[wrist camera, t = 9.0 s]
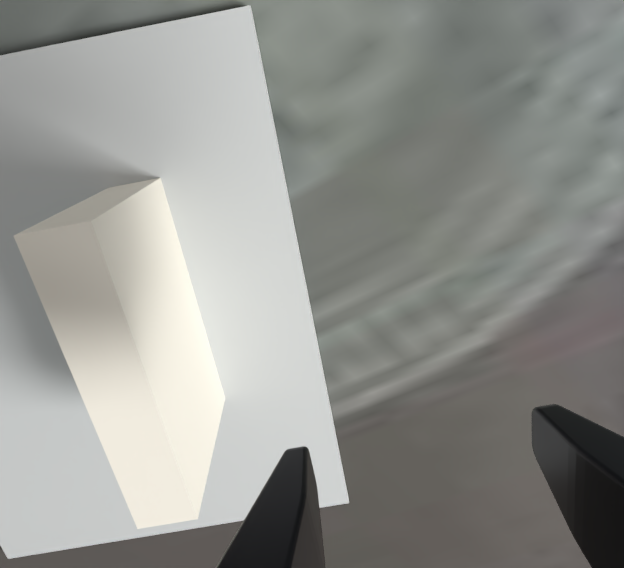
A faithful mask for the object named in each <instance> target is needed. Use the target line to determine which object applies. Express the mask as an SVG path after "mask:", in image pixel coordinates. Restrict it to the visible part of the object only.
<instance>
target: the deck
mask: <svg viewBox="0 0 624 568" xmlns="http://www.w3.org/2000/svg"><path fill="white" fill-rule="evenodd" d="M14 238H15V241H16V243H17V246H18V248H19V250H20V253H21V255H22V257H23V260H24V262H25V264H26V267H27V269H28V272H29V274H30V276H31V279H32V281H33V283H34V286H35V288H36V290H37V293H38V295H39V298H40V300H41V302H42V305H43V307H44V309H45V312H46V314H47V316H48V319H49V321H50V324H51V326H52V328H53V331H54V333H55V335H56V338H57V340H58V342H59V345H60V347H61V350H62V352H63V354H64V357H65V359H66V361H67V364H68V366H69V368H70V371H71V373H72V376H73V378H74V380H75V383H76V385H77V387H78V390H79V392H80V394H81V397H82V399H83V401H84V404H85V406H86V409H87V411H88V413H89V416H90V418H91V420H92V423H93V425H94V427H95V430H96V432H97V435H98V437H99V439H100V442H101V444H102V446H103V449H104V451H105V453H106V456H107V458H108V461H109V463H110V465H111V468H112V470H113V472H114V475H115V477H116V479H117V482H118V484H119V487H120V489H121V491H122V494H123V496H124V498H125V501H126V503H127V505H128V508H129V510H130V513H131V515H132V517H133V520H134V522H135V524H136V527H137V529H141V528H147V527H154V526H160V525H166V524H172V523H178V522H184V521H190V520H196V519H198V516H199V512H200V507H201V503H202V498H203V494H204V490H205V485H206V481H207V476H208V472H209V468H210V463H211V459H212V454H213V450H214V446H215V441H216V437H217V432H218V428H219V424H220V419H221V415H222V411H223V406H224V402H225V396H224V392H223V389H222V386H221V382H220V379H219V375H218V372H217V369H216V365H215V362H214V358H213V355H212V352H211V348H210V345H209V341H208V338H207V335H206V331H205V328H204V324H203V321H202V318H201V314H200V311H199V307H198V304H197V300H196V297H195V294H194V290H193V287H192V283H191V280H190V277H189V273H188V270H187V266H186V263H185V260H184V256H183V253H182V249H181V246H180V243H179V239H178V236H177V232H176V229H175V226H174V222H173V219H172V215H171V212H170V208H169V205H168V202H167V198H166V195H165V191H164V188H163V185H162V181H161V178H157V179H151V180H146V181H141V182H136V183H130V184H125V185H120V186H114V187H109V188H107V189H105V190H103V191H101V192H99V193H97V194H95V195H93V196H91V197H89V198H87V199H85V200H83V201H81V202H79V203H77V204H75V205H73V206H71V207H69V208H67V209H65V210H63V211H61V212H59V213H57V214H55V215H53V216H51V217H49V218H47V219H45V220H43V221H41V222H40V223H38V224H36V225H34V226H32V227H30V228H28V229H26V230H24V231H22V232H20V233H18V234H16V235H14Z"/></svg>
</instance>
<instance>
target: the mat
mask: <svg viewBox="0 0 624 568" xmlns="http://www.w3.org/2000/svg"><path fill="white" fill-rule="evenodd" d="M157 178H161V181H162V185H163V188H164V191H165V195H166V198H167V202H168V205H169V208H170V212H171V215H172V219H173V222H174V226H175V229H176V232H177V236H178V239H179V243H180V246H181V249H182V253H183V256H184V260H185V263H186V266H187V270H188V273H189V277H190V280H191V283H192V287H193V290H194V294H195V297H196V300H197V304H198V307H199V311H200V314H201V318H202V321H203V324H204V328H205V331H206V335H207V338H208V341H209V345H210V348H211V352H212V355H213V358H214V362H215V365H216V369H217V372H218V375H219V379H220V382H221V386H222V389H223V392H224V396H225V402H224V406H223V411H222V415H221V419H220V424H219V428H218V432H217V437H216V441H215V446H214V450H213V454H212V459H211V463H210V468H209V472H208V476H207V481H206V485H205V490H204V494H203V498H202V503H201V507H200V512H199V516H198V519H196V520H190V521H184V522H178V523H172V524H166V525H160V526H154V527H147V528H141V529H137V527H136V524H135V522H134V520H133V517H132V515H131V513H130V510H129V508H128V505H127V503H126V501H125V498H124V496H123V494H122V491H121V489H120V487H119V484H118V482H117V479H116V477H115V475H114V472H113V470H112V468H111V465H110V463H109V461H108V458H107V456H106V453H105V451H104V449H103V446H102V444H101V442H100V439H99V437H98V435H97V432H96V430H95V427H94V425H93V423H92V420H91V418H90V416H89V413H88V411H87V409H86V406H85V404H84V401H83V399H82V397H81V394H80V392H79V390H78V387H77V385H76V383H75V380H74V378H73V376H72V373H71V371H70V368H69V366H68V364H67V361H66V359H65V357H64V354H63V352H62V350H61V347H60V345H59V342H58V340H57V338H56V335H55V333H54V331H53V328H52V326H51V324H50V321H49V319H48V316H47V314H46V312H45V309H44V307H43V305H42V302H41V300H40V298H39V295H38V293H37V290H36V288H35V286H34V283H33V281H32V279H31V276H30V274H29V272H28V269H27V267H26V264H25V262H24V260H23V257H22V255H21V253H20V250H19V248H18V246H17V243H16V241H15V238H14V235H16V234H18V233H20V232H22V231H24V230H26V229H28V228H30V227H32V226H34V225H36V224H38V223H40V222H41V221H43V220H45V219H47V218H49V217H51V216H53V215H55V214H57V213H59V212H61V211H63V210H65V209H67V208H69V207H71V206H73V205H75V204H77V203H79V202H81V201H83V200H85V199H87V198H89V197H91V196H93V195H95V194H97V193H99V192H101V191H103V190H105V189H107V188H109V187H114V186H120V185H125V184H130V183H136V182H141V181H146V180H151V179H157ZM302 446H306V447H307V448H308V449H309V452H310V457H311V461H312V465H313V470H314V474H315V479H316V484H317V490H318V499H319V508H321V507H328V506H334V505H340V504H346V503H349V499H348V493H347V488H346V483H345V478H344V473H343V468H342V463H341V458H340V452H339V447H338V442H337V437H336V432H335V427H334V422H333V417H332V412H331V407H330V402H329V397H328V392H327V387H326V382H325V377H324V372H323V367H322V362H321V357H320V352H319V347H318V342H317V337H316V332H315V327H314V321H313V316H312V311H311V306H310V301H309V296H308V291H307V286H306V281H305V276H304V271H303V266H302V261H301V256H300V251H299V246H298V241H297V236H296V231H295V226H294V221H293V216H292V211H291V206H290V201H289V196H288V190H287V185H286V180H285V175H284V170H283V165H282V160H281V155H280V150H279V145H278V140H277V135H276V130H275V125H274V120H273V115H272V110H271V105H270V100H269V95H268V90H267V85H266V80H265V75H264V70H263V65H262V59H261V54H260V49H259V44H258V39H257V34H256V29H255V24H254V19H253V14H252V9H251V6H250V5H249V6H244V7H239V8H234V9H229V10H224V11H219V12H214V13H209V14H204V15H199V16H194V17H189V18H184V19H179V20H174V21H169V22H164V23H159V24H154V25H149V26H144V27H139V28H134V29H129V30H124V31H119V32H114V33H109V34H104V35H99V36H94V37H89V38H84V39H80V40H75V41H70V42H65V43H60V44H55V45H50V46H45V47H40V48H35V49H30V50H25V51H20V52H15V53H10V54H5V55H0V546H1V547H2V549H3V551H4V553H5V554H6V556H7V558H8V559H10V558H16V557H22V556H29V555H35V554H41V553H47V552H53V551H59V550H65V549H71V548H77V547H83V546H90V545H96V544H102V543H108V542H114V541H120V540H126V539H132V538H138V537H144V536H151V535H157V534H163V533H169V532H175V531H181V530H187V529H193V528H199V527H206V526H212V525H218V524H224V523H230V522H236V521H242V520H244V519H245V518H246V516H247V514H248V513H249V511H250V509H251V507H252V506H253V504H254V502H255V501H256V499H257V497H258V496H259V494H260V492H261V490H262V489H263V487H264V485H265V484H266V482H267V480H268V479H269V477H270V475H271V473H272V472H273V470H274V468H275V467H276V465H277V463H278V462H279V460H280V458H281V456H282V455H283V453H284V452H285V451H286V450H287V449H290V448H296V447H302Z"/></svg>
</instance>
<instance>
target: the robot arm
mask: <svg viewBox="0 0 624 568" xmlns="http://www.w3.org/2000/svg"><path fill="white" fill-rule="evenodd" d="M532 447H533V451H534V454H535V457H536V459H537V461H538V464H539V466H540V468H541V470H542V472H543V474H544V476H545V478H546V480H547V482H548V485H549V487H550V489H551V491H552V493H553V495H554V497H555V499H556V501H557V504H558V506H559V508H560V510H561V512H562V514H563V516H564V518H565V520H566V522H567V525H568V527H569V529H570V531H571V533H572V535H573V536H574V538H575V540H576V542H577V543H578V545H579V547H580V549H581V550H582V552H583V554H584V555H585V557H586V559H587V560H588V562H589V564H590V565H591V567H592V568H624V437H623V436H621V435H619V434H616V433H614V432H612V431H610V430H608V429H606V428H604V427H602V426H600V425H598V424H596V423H594V422H592V421H590V420H588V419H586V418H584V417H582V416H580V415H578V414H576V413H574V412H572V411H570V410H568V409H566V408H564V407H562V406H559V405H556V404H552V405H546V406H540V407H535V408H534V409H533V411H532ZM216 568H325V557H324V548H323V538H322V528H321V519H320V509H319V499H318V490H317V484H316V479H315V474H314V470H313V465H312V461H311V457H310V452H309V449H308V448H307V447H306V446H302V447H296V448H290V449H287V450H286V451H285V452H284V453H283V455H282V456H281V458H280V460H279V462H278V463H277V465H276V467H275V468H274V470H273V472H272V473H271V475H270V477H269V479H268V480H267V482H266V484H265V485H264V487H263V489H262V490H261V492H260V494H259V496H258V497H257V499H256V501H255V502H254V504H253V506H252V507H251V509H250V511H249V513H248V514H247V516H246V518H245V519H244V521H243V523H242V524H241V526H240V528H239V530H238V531H237V533H236V535H235V536H234V538H233V540H232V541H231V543H230V545H229V547H228V548H227V550H226V552H225V553H224V555H223V557H222V558H221V560H220V562H219V564H218V565H217V567H216Z"/></svg>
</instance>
